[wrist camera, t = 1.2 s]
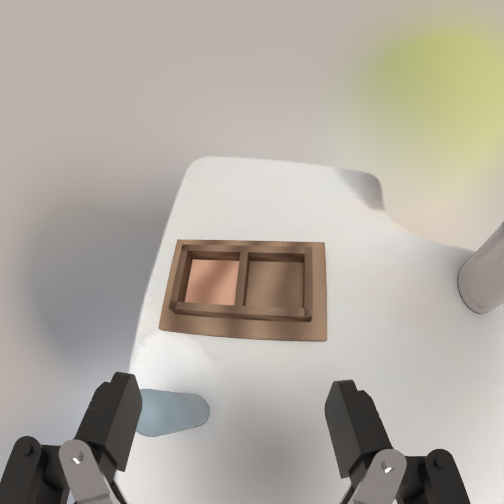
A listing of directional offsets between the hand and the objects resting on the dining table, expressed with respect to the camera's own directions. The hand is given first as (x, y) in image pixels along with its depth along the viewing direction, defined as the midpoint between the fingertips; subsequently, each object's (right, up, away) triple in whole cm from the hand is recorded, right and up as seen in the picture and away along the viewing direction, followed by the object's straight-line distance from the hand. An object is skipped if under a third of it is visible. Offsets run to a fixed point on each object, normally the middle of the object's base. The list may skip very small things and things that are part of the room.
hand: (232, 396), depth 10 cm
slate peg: (-7, -14, +21) cm, 26 cm away
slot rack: (0, +1, +28) cm, 28 cm away
